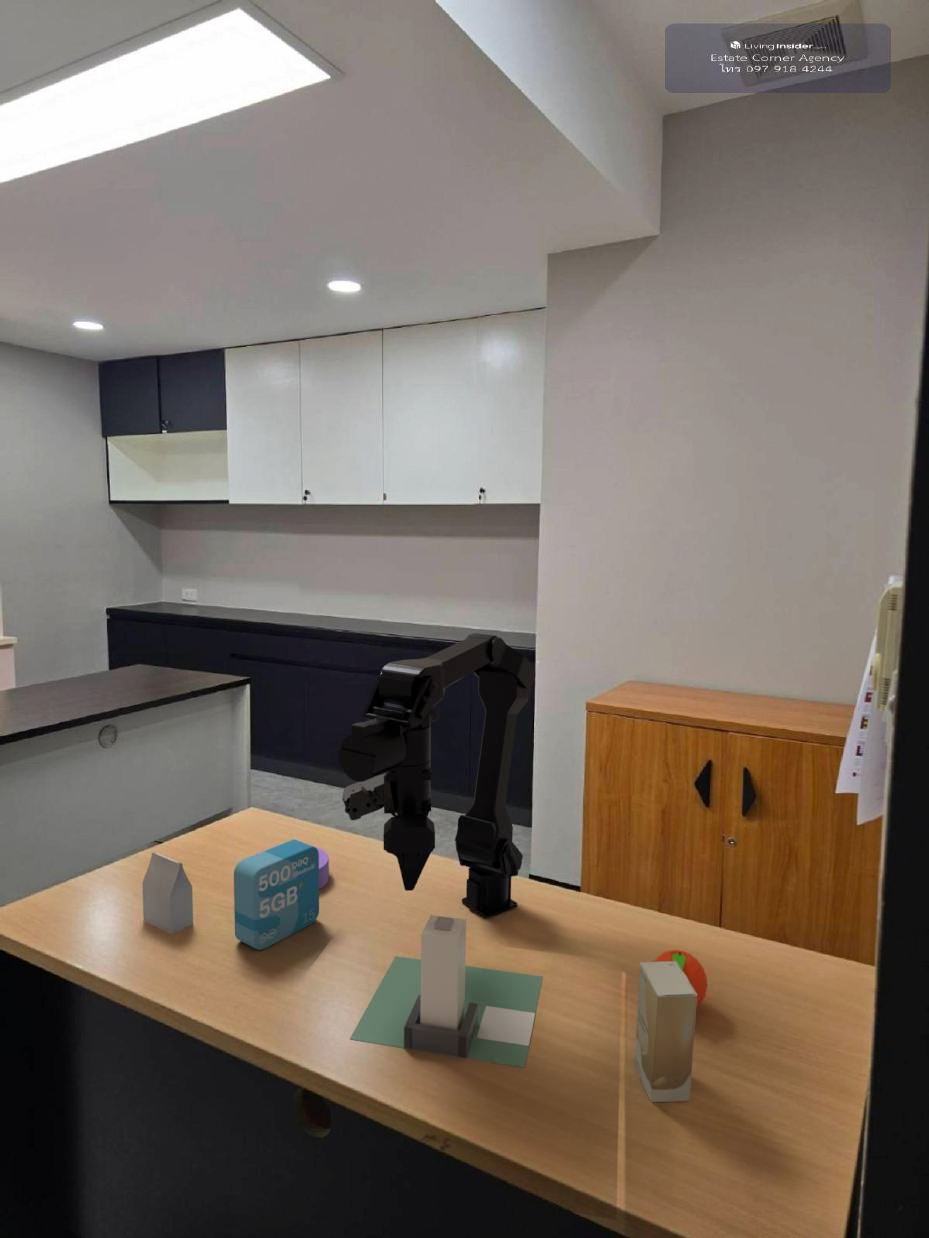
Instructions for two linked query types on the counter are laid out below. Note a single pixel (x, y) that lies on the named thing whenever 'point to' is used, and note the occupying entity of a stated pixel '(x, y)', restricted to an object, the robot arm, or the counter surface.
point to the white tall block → (443, 972)
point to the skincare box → (665, 1031)
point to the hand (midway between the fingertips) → (408, 873)
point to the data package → (276, 893)
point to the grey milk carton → (167, 895)
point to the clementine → (688, 970)
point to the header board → (490, 1015)
